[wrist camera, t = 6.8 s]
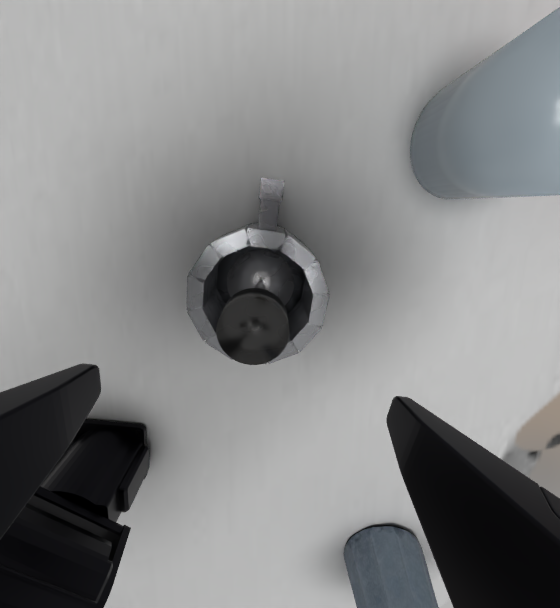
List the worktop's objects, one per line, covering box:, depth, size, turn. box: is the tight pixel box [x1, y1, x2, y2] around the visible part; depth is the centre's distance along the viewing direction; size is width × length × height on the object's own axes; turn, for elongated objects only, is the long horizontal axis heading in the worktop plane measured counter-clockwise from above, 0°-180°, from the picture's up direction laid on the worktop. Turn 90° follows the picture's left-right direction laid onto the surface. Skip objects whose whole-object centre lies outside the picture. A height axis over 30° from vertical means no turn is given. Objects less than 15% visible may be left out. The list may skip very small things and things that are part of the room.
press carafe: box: [187, 177, 329, 364], centre depth 18 cm, size 8×11×5 cm
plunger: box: [216, 249, 294, 365], centre depth 16 cm, size 5×5×8 cm
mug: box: [410, 7, 560, 200], centre depth 14 cm, size 8×7×8 cm
